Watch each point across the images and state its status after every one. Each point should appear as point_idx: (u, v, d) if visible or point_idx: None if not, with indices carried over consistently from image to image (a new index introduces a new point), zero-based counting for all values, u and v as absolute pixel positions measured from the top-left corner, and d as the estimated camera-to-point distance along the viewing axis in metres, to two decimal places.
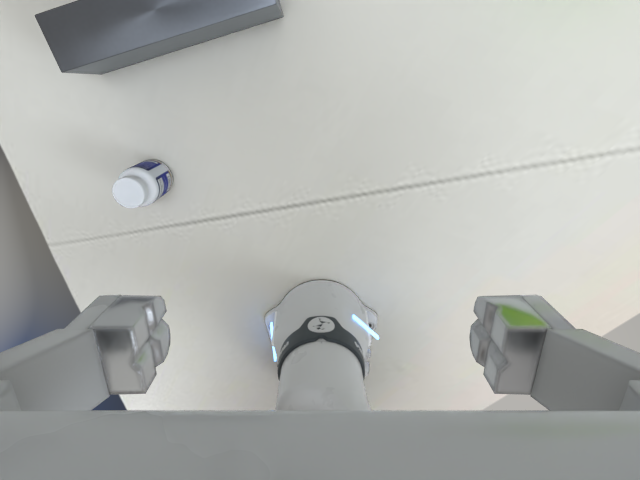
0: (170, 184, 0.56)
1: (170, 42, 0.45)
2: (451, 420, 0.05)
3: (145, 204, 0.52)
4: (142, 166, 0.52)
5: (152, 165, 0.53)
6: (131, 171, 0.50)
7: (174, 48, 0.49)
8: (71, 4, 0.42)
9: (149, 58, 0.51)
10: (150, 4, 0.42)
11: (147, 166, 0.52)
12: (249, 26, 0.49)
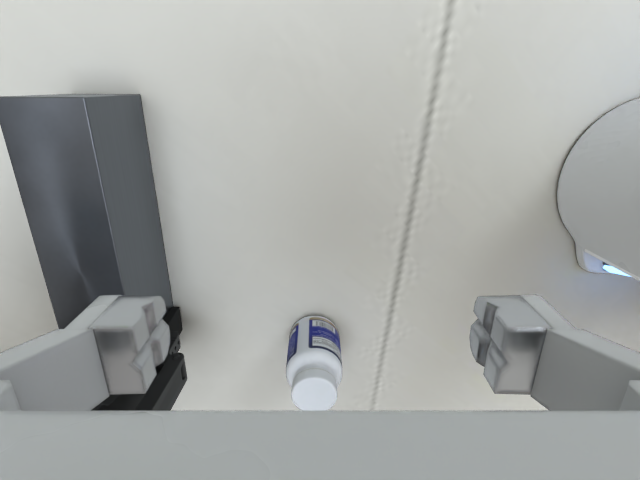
0: (328, 323, 0.40)
1: (134, 266, 0.32)
2: (451, 420, 0.05)
3: (339, 375, 0.36)
4: (289, 355, 0.37)
5: (294, 338, 0.38)
6: (289, 374, 0.36)
7: (156, 256, 0.37)
8: None
9: (168, 287, 0.39)
10: (75, 277, 0.30)
11: (291, 347, 0.37)
12: (144, 148, 0.34)
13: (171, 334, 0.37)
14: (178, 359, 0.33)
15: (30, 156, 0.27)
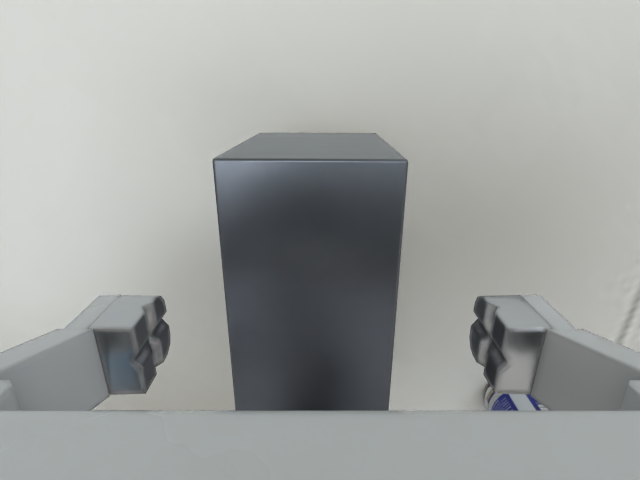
0: None
1: None
2: (451, 420, 0.05)
3: None
4: None
5: (508, 405, 0.33)
6: None
7: None
8: None
9: None
10: None
11: None
12: None
13: None
14: None
15: (265, 272, 0.13)
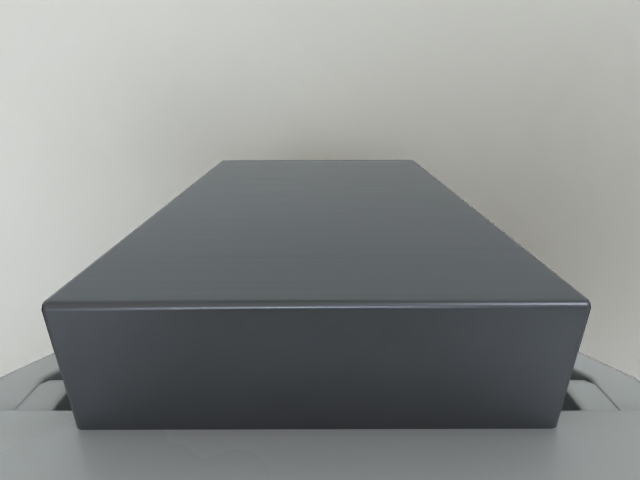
0: None
1: None
2: None
3: None
4: None
5: None
6: None
7: None
8: None
9: None
10: None
11: None
12: None
13: None
14: None
15: None
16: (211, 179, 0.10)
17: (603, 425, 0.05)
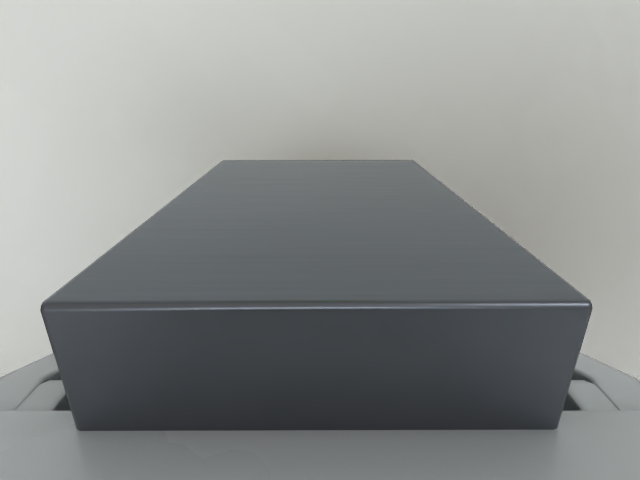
0: None
1: None
2: None
3: None
4: None
5: None
6: None
7: None
8: None
9: None
10: None
11: None
12: None
13: None
14: None
15: None
16: (211, 179, 0.10)
17: (603, 425, 0.05)
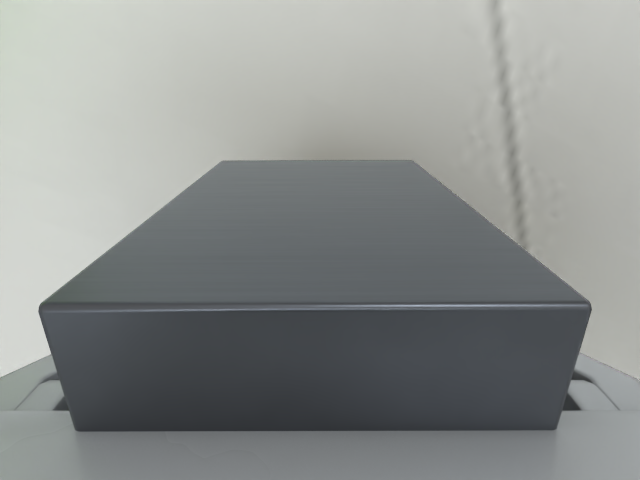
0: None
1: None
2: None
3: None
4: None
5: None
6: None
7: None
8: None
9: None
10: None
11: None
12: None
13: None
14: None
15: None
16: (210, 179, 0.10)
17: (603, 425, 0.05)
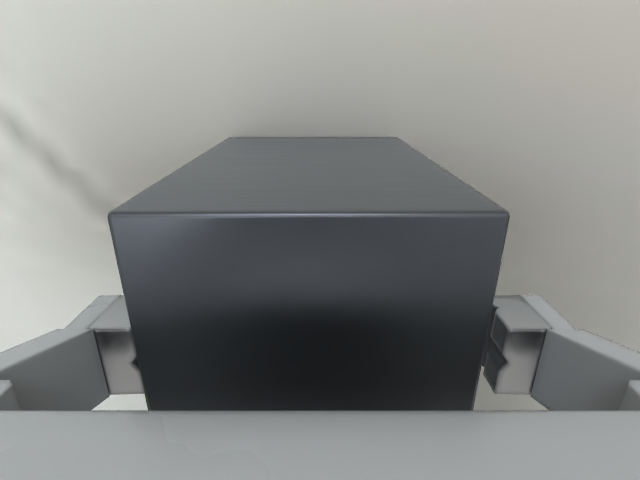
0: None
1: None
2: (451, 420, 0.05)
3: None
4: None
5: None
6: None
7: None
8: None
9: None
10: None
11: None
12: None
13: None
14: None
15: None
16: (220, 149, 0.11)
17: (603, 425, 0.05)
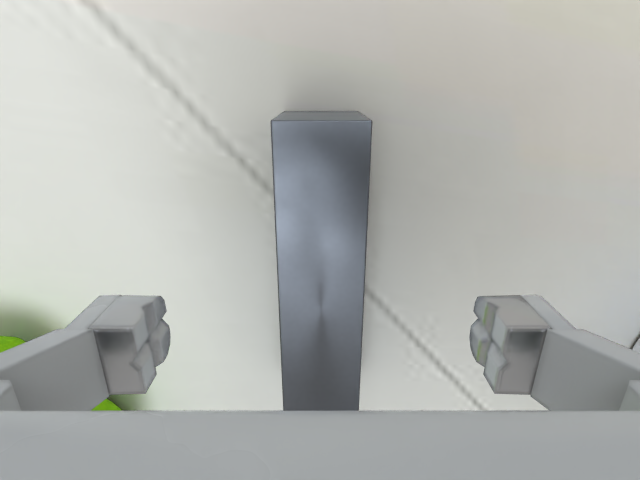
0: None
1: None
2: (451, 420, 0.05)
3: None
4: None
5: None
6: None
7: None
8: (285, 402, 0.31)
9: None
10: (313, 312, 0.28)
11: None
12: None
13: None
14: None
15: (297, 183, 0.24)
16: (285, 113, 0.28)
17: (603, 425, 0.05)
